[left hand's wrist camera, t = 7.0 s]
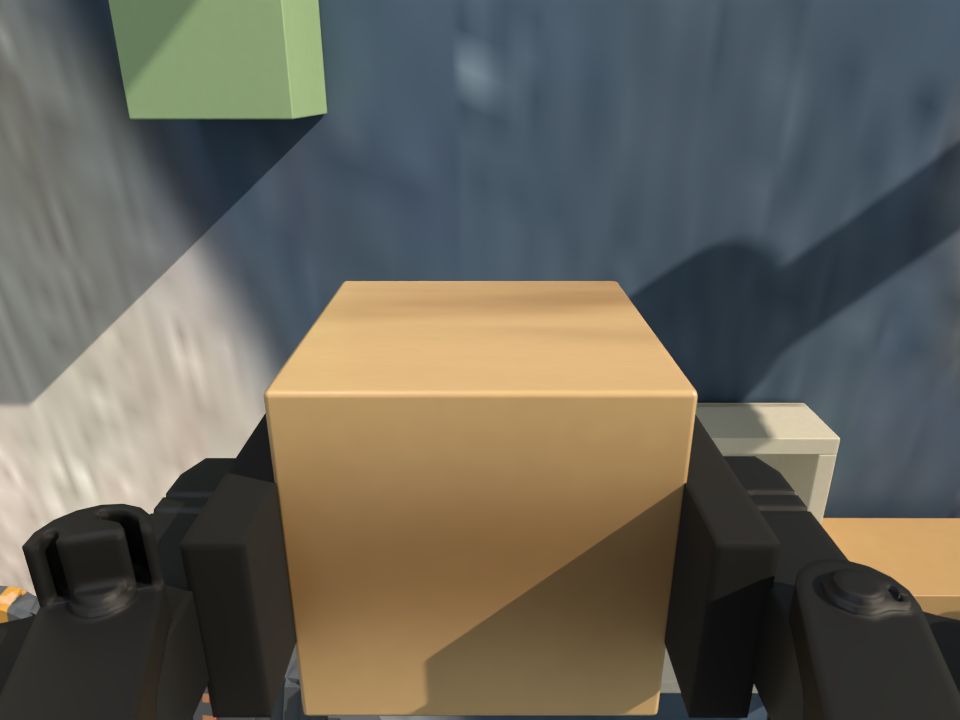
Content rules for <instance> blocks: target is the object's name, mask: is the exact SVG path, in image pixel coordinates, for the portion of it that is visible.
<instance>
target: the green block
mask: <svg viewBox="0 0 960 720" xmlns="http://www.w3.org/2000/svg"><path fill="white" fill-rule="evenodd" d="M109 6H110V11H111V17H112V22H113V28H114V34H115V39H116V45H117V50H118V56H119V62H120V67H121V73H122V78H123V84H124V90H125V95H126V101H127V106H128V112H129V118H130V119H297V118H303V117H309V116H315V115H321V114H326V113H327V106H326V93H325V80H324V67H323V55H322V42H321V29H320V16H319V3H318V0H109Z"/></svg>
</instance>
